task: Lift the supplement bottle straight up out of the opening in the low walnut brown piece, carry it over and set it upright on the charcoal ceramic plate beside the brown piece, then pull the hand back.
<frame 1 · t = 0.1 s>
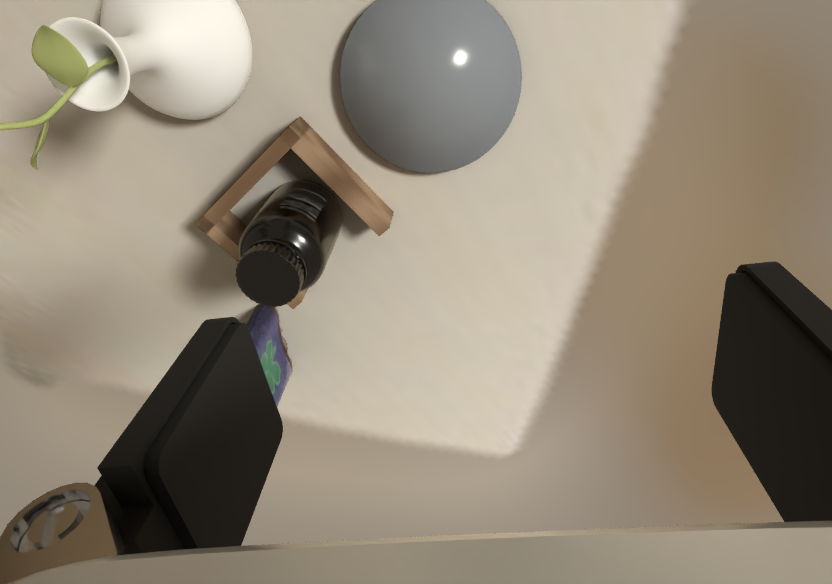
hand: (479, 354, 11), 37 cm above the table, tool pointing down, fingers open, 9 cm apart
brown piece: (306, 215, 50), on the table
supplement bottle: (306, 214, 50), on the table
flask: (274, 338, 58), on the table
plate: (430, 81, 44), on the table
flower in vase: (182, 48, 44), on the table
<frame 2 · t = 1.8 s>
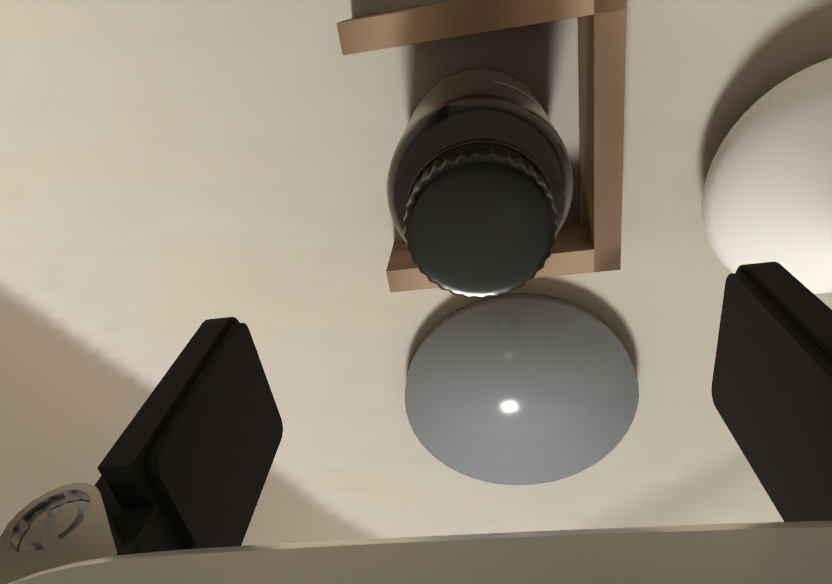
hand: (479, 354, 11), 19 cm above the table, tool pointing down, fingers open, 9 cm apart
brown piece: (475, 139, 27), on the table
supplement bottle: (475, 138, 28), on the table
plate: (517, 391, 35), on the table
flower in vase: (812, 155, 27), on the table
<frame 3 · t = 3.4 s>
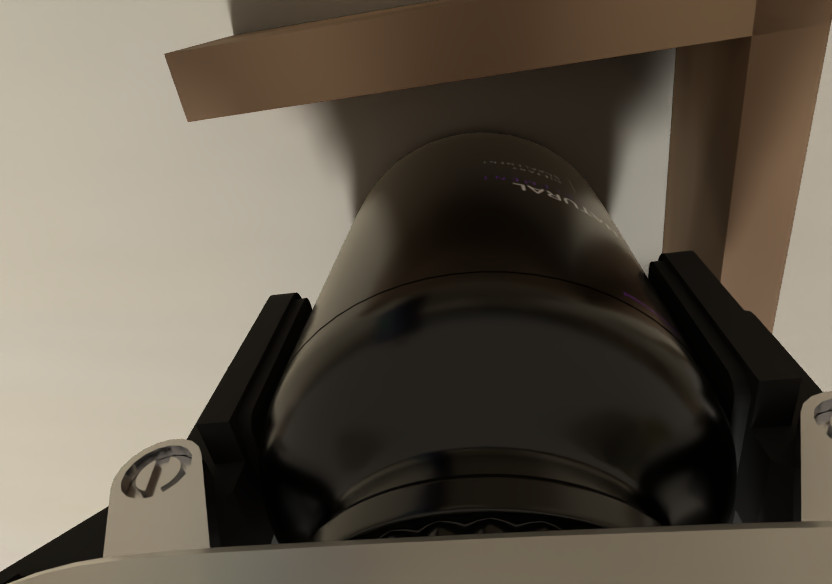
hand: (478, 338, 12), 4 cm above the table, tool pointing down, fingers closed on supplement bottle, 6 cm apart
brown piece: (474, 250, 15), on the table
supplement bottle: (474, 246, 15), on the table, touching gripper
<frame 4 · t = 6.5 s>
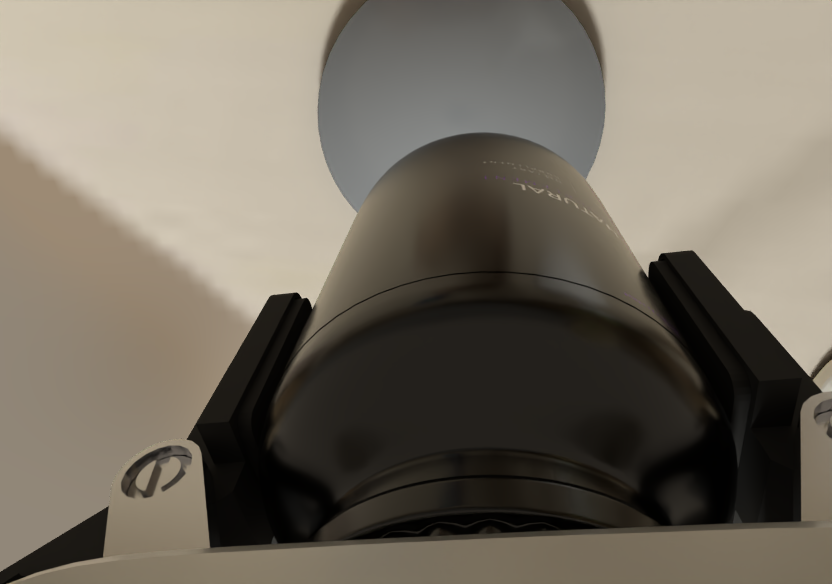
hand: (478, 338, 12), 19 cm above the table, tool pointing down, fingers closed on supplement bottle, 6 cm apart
supplement bottle: (474, 246, 15), point 15 cm above the table, touching gripper
plate: (458, 121, 28), on the table
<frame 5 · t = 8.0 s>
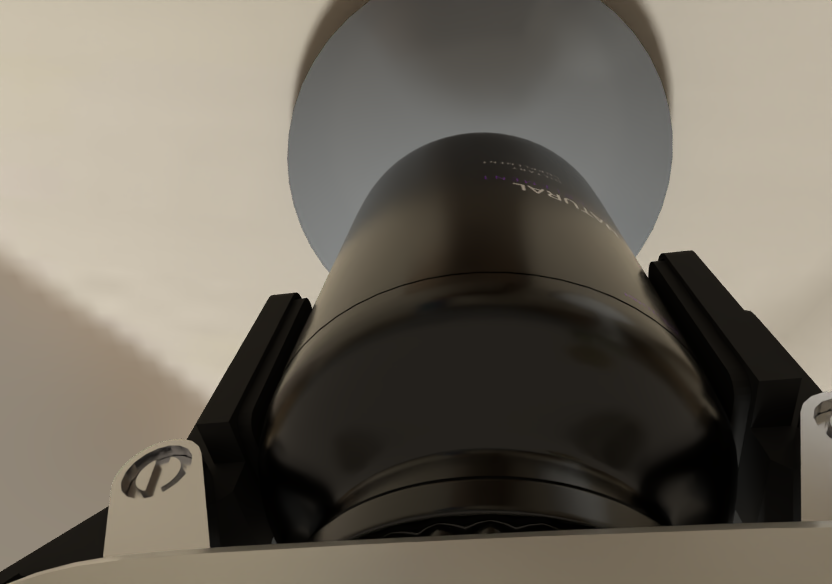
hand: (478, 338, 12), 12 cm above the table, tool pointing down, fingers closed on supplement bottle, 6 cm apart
supplement bottle: (474, 246, 15), point 7 cm above the table, touching gripper
plate: (473, 172, 22), on the table
when the fingers open (7 cm above the table, at t = 9.4 s): supplement bottle drops 1 cm, resting on plate.
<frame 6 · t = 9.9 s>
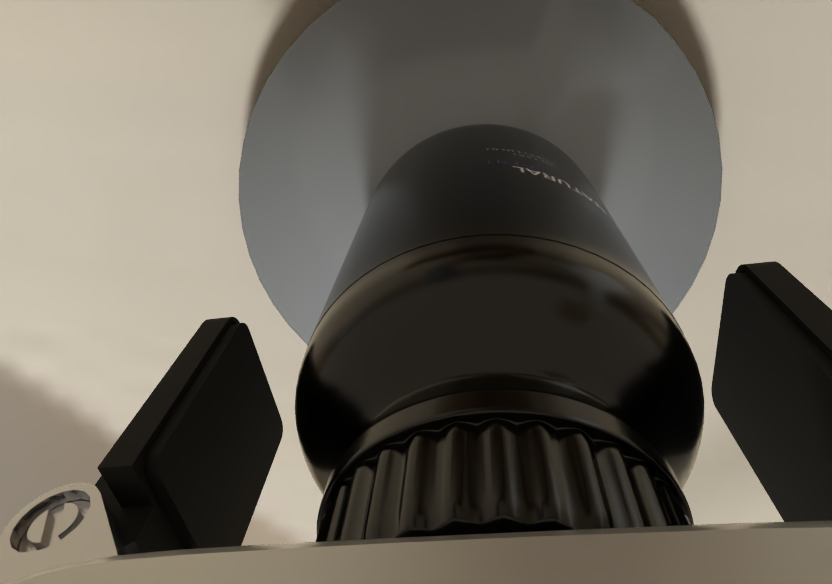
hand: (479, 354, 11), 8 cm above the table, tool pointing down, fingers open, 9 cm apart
supplement bottle: (477, 230, 17), point 1 cm above the table, touching plate
plate: (471, 213, 18), on the table
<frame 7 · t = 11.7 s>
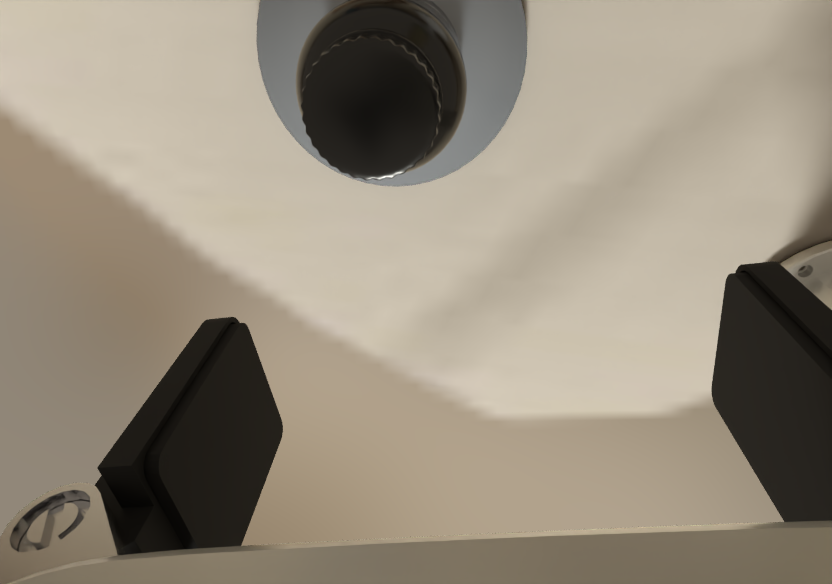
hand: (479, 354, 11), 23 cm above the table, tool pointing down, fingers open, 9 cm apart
supplement bottle: (395, 60, 29), point 1 cm above the table, touching plate
plate: (392, 54, 30), on the table
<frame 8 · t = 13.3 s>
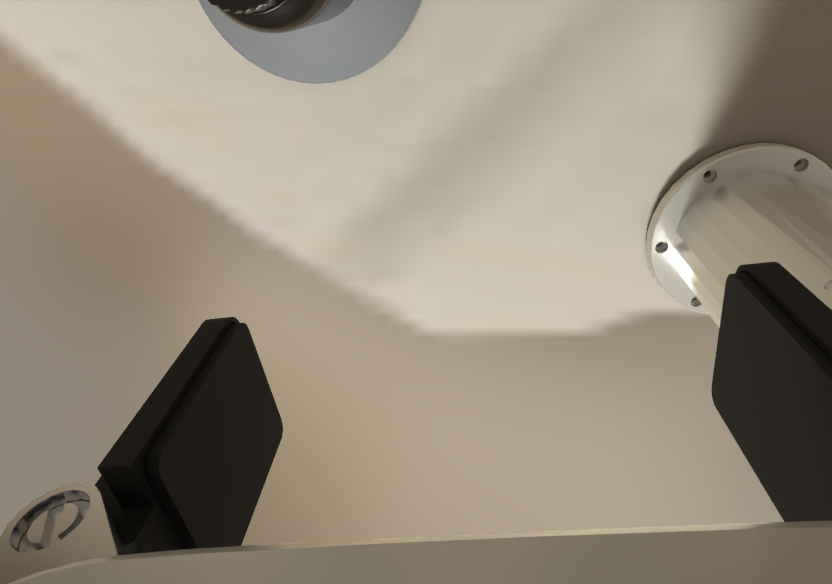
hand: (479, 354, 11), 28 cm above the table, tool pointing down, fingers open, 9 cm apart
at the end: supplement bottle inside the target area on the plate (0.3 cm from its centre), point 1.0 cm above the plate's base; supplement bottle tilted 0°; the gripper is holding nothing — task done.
